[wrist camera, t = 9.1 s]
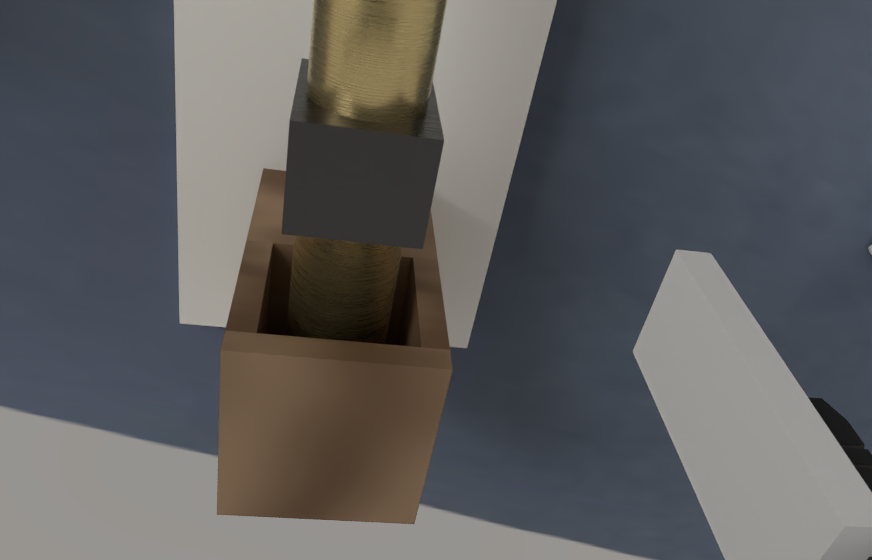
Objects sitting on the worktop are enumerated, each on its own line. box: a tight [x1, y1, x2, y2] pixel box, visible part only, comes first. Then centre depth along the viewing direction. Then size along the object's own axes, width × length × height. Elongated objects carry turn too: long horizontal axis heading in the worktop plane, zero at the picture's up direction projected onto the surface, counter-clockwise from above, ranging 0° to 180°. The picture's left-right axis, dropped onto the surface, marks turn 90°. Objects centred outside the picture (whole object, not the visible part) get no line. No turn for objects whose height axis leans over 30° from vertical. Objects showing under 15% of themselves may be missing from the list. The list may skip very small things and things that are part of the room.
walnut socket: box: [217, 168, 453, 524], centre depth 26 cm, size 6×6×10 cm
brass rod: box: [281, 0, 447, 344], centre depth 18 cm, size 4×26×4 cm, turn 170°
